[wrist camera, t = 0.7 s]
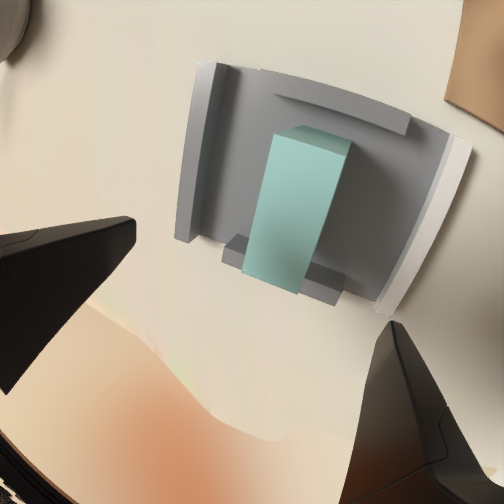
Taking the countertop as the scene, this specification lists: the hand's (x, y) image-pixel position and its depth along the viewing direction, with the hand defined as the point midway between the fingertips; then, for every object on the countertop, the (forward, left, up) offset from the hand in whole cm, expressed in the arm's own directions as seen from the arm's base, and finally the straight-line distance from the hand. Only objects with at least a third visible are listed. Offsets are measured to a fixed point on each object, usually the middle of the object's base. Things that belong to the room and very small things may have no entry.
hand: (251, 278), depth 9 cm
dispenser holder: (0, 0, -11) cm, 11 cm away
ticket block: (0, 0, -11) cm, 11 cm away
